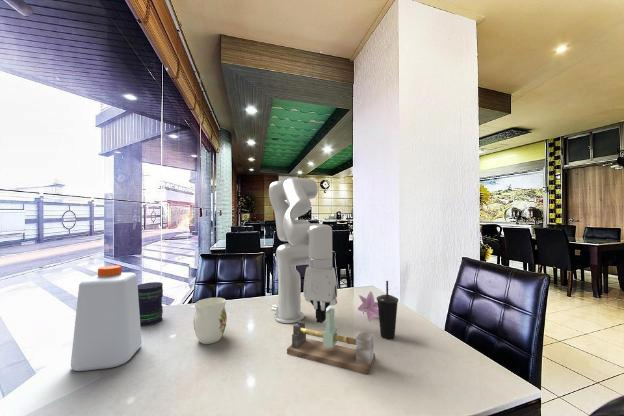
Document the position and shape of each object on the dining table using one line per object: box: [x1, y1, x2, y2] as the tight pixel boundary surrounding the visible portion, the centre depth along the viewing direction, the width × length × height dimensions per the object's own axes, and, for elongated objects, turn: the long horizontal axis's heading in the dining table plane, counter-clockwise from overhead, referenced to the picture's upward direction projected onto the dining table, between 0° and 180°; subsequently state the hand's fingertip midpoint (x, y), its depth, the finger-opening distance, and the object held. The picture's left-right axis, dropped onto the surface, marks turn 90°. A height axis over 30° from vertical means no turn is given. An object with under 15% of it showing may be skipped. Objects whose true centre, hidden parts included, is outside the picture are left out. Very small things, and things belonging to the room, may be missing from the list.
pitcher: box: [193, 297, 228, 345], centre depth 95 cm, size 11×18×14 cm, turn 4°
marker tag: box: [322, 307, 338, 348], centre depth 83 cm, size 3×4×10 cm
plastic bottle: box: [70, 265, 142, 372], centre depth 82 cm, size 15×15×28 cm
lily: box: [357, 290, 379, 322], centre depth 114 cm, size 12×12×10 cm
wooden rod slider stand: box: [286, 320, 376, 375], centre depth 83 cm, size 26×9×8 cm, turn 65°
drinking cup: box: [376, 280, 399, 341], centre depth 96 cm, size 8×8×20 cm
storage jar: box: [137, 281, 164, 327], centre depth 110 cm, size 10×10×15 cm
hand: (320, 321), depth 84 cm, fingers closed
